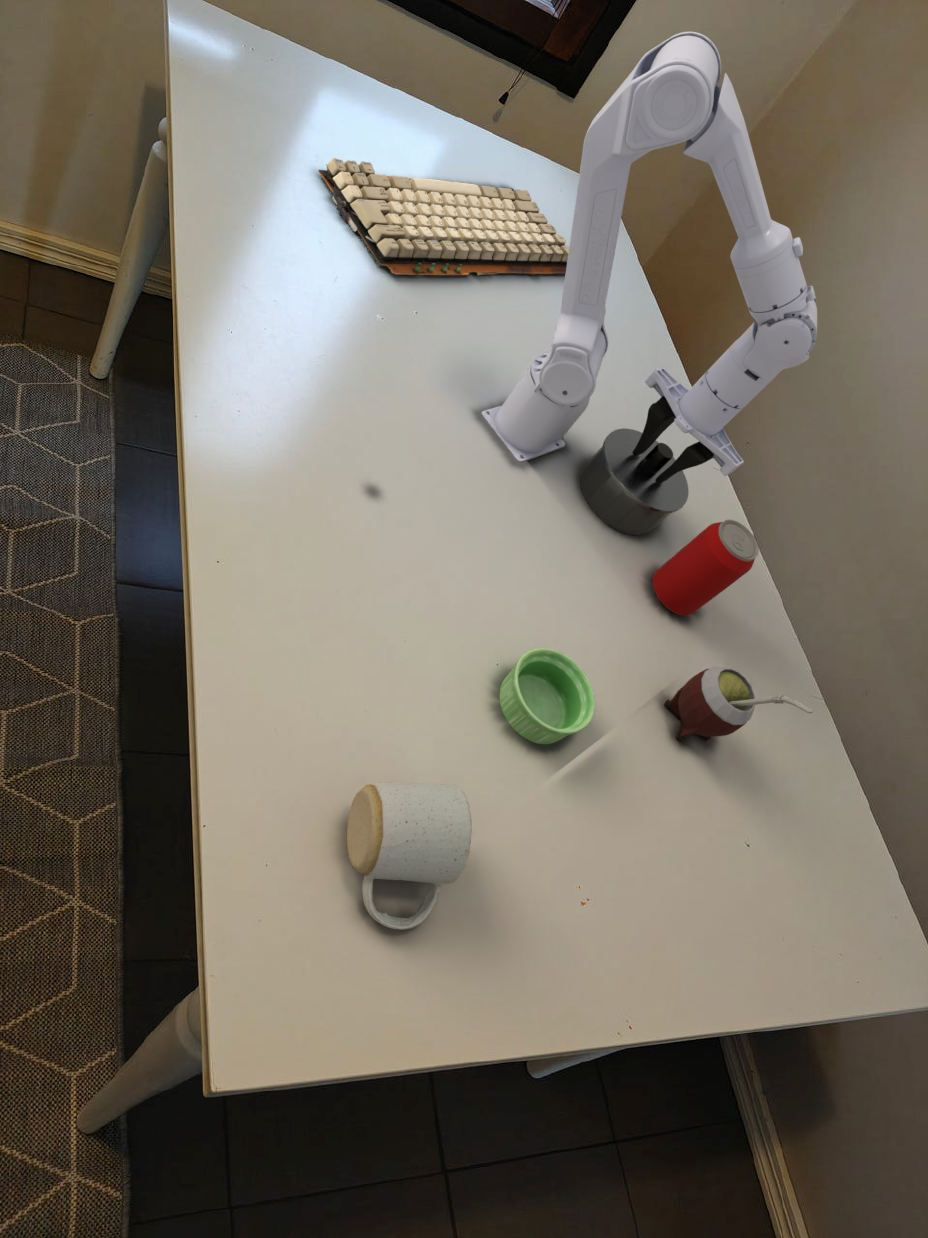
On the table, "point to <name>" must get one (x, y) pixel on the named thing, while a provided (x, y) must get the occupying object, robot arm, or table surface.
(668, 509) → the tin lid
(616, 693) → the table surface
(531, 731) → the ramekin
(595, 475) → the tin
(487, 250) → the mechanical keyboard
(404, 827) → the ceramic mug
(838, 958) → the table surface
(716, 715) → the mate gourd
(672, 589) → the beverage can
